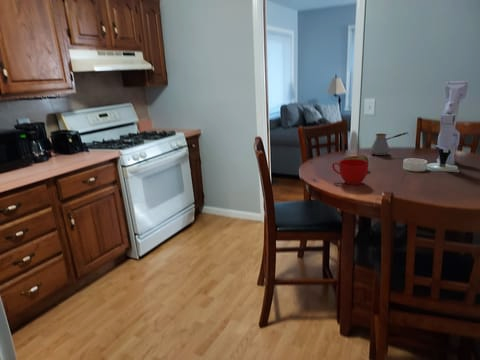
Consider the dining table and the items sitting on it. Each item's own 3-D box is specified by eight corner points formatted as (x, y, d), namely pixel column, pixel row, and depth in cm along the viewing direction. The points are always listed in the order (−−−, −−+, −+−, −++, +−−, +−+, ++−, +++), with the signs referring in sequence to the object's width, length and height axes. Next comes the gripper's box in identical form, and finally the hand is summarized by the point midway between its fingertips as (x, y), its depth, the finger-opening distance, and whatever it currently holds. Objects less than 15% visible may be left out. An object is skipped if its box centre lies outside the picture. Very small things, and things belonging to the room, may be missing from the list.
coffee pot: (367, 155, 213) (369, 131, 209) (373, 151, 222) (374, 129, 218) (403, 158, 201) (406, 133, 196) (408, 155, 209) (411, 130, 205)
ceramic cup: (337, 176, 172) (338, 157, 169) (371, 181, 162) (372, 161, 159) (326, 183, 162) (326, 162, 160) (361, 188, 152) (362, 167, 149)
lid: (425, 163, 186) (426, 156, 185) (455, 165, 181) (456, 157, 179) (427, 170, 174) (428, 162, 173) (459, 172, 169) (460, 163, 167)
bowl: (402, 165, 186) (403, 157, 184) (425, 167, 181) (426, 159, 180) (402, 171, 176) (403, 162, 175) (426, 172, 172) (427, 163, 170)
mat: (425, 164, 187) (425, 163, 186) (455, 166, 181) (455, 165, 181) (427, 170, 174) (427, 170, 174) (459, 172, 169) (459, 172, 169)
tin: (343, 173, 178) (344, 157, 175) (340, 171, 181) (340, 156, 178) (368, 169, 181) (369, 154, 179) (364, 168, 184) (365, 153, 182)
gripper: (435, 134, 181) (432, 159, 185) (438, 139, 168) (434, 166, 172) (451, 135, 178) (447, 160, 182) (454, 140, 165) (450, 166, 169)
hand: (442, 163), depth 177 cm, fingers closed on lid, 3 cm apart
